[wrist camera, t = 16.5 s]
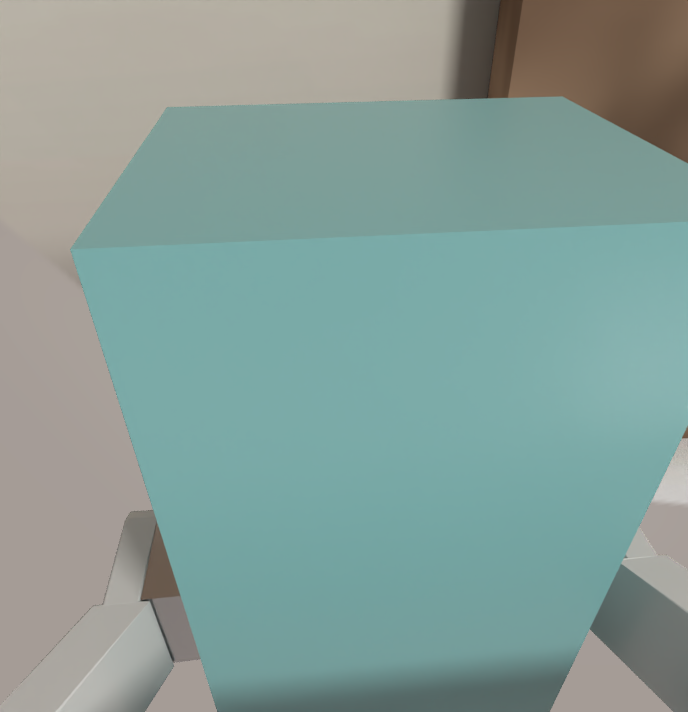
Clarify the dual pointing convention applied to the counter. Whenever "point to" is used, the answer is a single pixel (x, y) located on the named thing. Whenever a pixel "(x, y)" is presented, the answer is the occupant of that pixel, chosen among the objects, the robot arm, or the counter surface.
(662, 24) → the base
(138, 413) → the cover
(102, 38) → the counter surface
